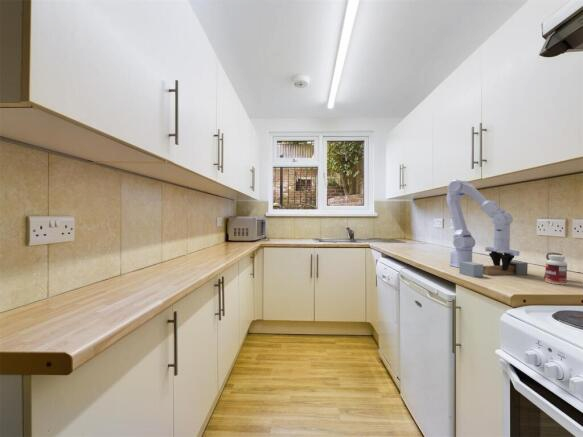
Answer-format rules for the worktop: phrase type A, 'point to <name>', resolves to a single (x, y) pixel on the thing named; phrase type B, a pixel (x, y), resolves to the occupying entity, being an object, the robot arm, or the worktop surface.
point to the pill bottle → (556, 270)
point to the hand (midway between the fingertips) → (500, 269)
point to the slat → (498, 270)
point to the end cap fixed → (520, 267)
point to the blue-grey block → (471, 269)
